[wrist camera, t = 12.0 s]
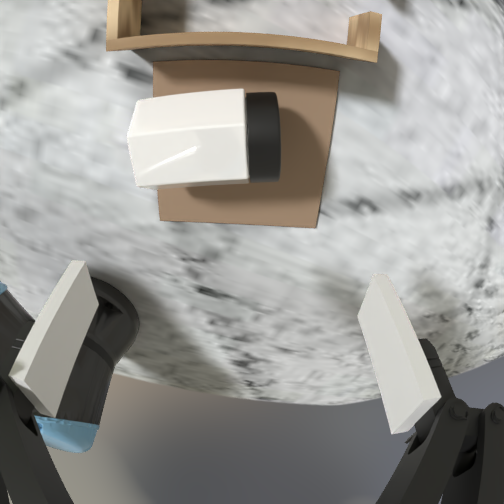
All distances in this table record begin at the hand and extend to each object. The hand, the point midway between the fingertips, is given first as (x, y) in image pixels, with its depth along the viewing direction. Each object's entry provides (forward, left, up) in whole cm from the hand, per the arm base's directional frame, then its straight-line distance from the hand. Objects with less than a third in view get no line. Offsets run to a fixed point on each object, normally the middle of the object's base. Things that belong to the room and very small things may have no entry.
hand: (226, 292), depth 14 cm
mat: (0, 0, -22) cm, 22 cm away
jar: (+1, +9, -17) cm, 19 cm away
